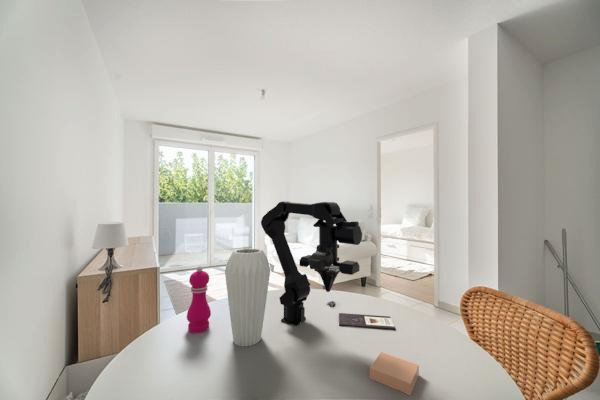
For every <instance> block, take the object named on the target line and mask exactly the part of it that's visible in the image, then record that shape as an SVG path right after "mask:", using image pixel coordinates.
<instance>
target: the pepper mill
mask: <svg viewBox="0 0 600 400" xmlns="http://www.w3.org/2000/svg"><path fill="white" fill-rule="evenodd" d="M209 281H210V276H209V273H208V272H206V271H205V270H203V266H197V267H196V271H194V272H192V273H191V275H190V276H189V285H191V287H190V289H191V290H190V292H191V293H192V297H191V298H192V299H191V302H190V305H189V306H188V307H189V308H188V310H187V312H186V320H187V322H189V323H188V324H187V325H188V326H187V331H188V332H189V333H193V334H199V333H203V332H206V331H207V330H208V329H209V328H210V321H209V319H210V317H211V316H212V315H211V314H212V312H211V307H210V305H209V303H208V301H207V291H208V285H207V284H208V283H209Z"/></svg>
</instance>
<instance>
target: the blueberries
mask: <svg viewBox="0 0 600 400" xmlns="http://www.w3.org/2000/svg"><path fill="white" fill-rule="evenodd" d="M326 305H329V306H328V307H330V308H335V306H336V305H337V304H336V302H335V301H334V300H331V301H328V302H327V303H326Z"/></svg>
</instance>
